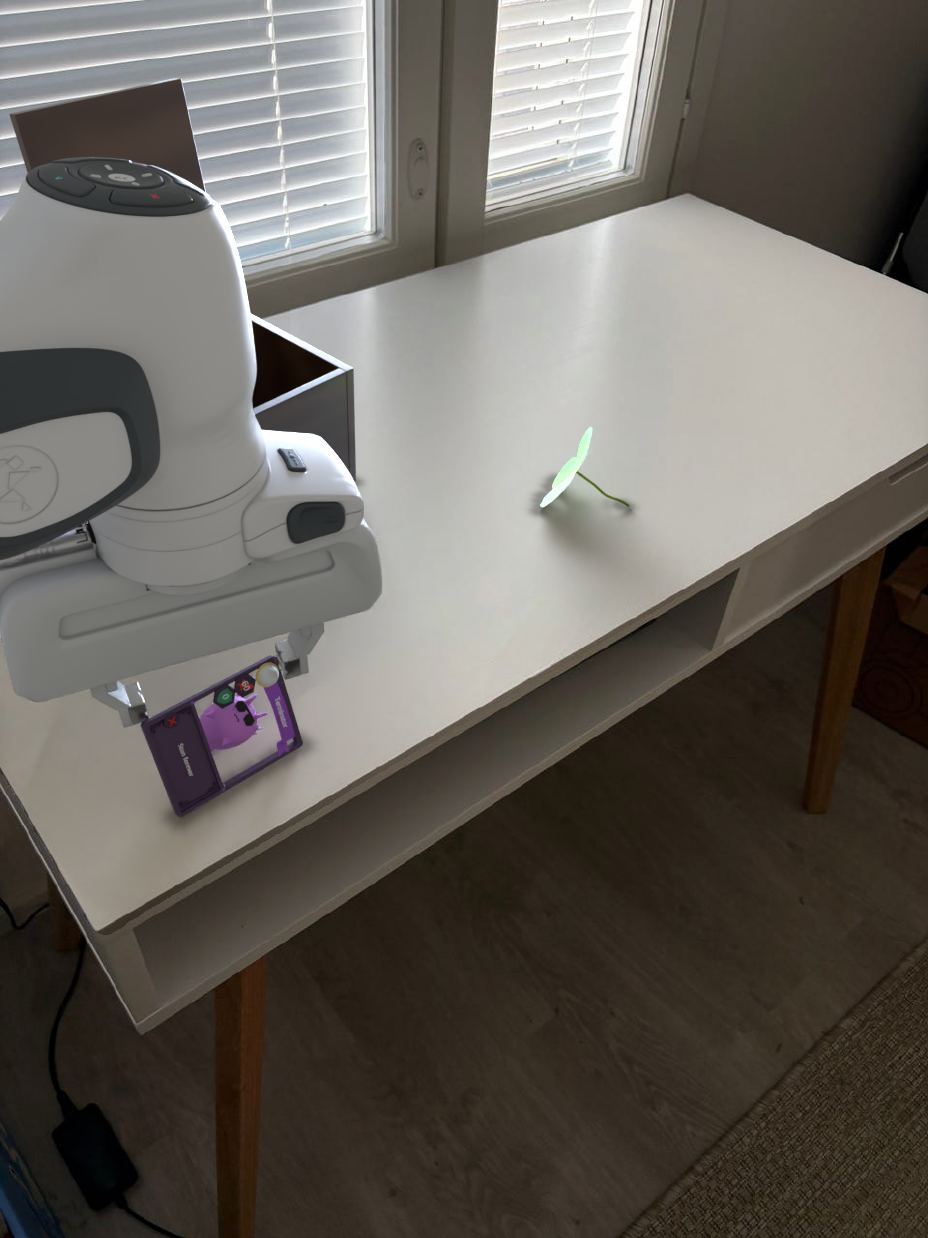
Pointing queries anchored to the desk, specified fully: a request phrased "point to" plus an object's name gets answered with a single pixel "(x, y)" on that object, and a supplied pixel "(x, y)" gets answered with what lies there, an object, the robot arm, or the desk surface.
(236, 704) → the game card
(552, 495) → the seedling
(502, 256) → the desk surface
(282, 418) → the case
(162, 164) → the cover
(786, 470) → the desk surface
